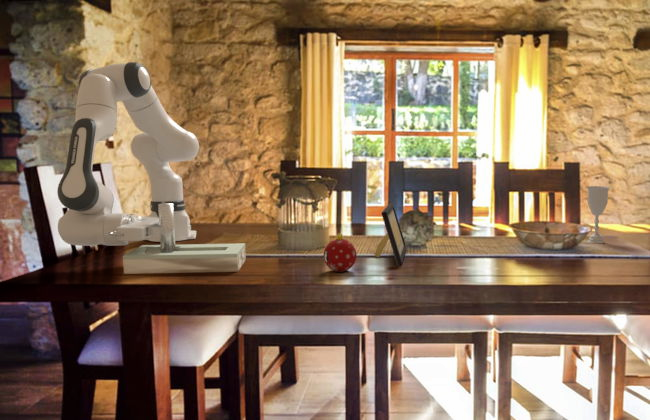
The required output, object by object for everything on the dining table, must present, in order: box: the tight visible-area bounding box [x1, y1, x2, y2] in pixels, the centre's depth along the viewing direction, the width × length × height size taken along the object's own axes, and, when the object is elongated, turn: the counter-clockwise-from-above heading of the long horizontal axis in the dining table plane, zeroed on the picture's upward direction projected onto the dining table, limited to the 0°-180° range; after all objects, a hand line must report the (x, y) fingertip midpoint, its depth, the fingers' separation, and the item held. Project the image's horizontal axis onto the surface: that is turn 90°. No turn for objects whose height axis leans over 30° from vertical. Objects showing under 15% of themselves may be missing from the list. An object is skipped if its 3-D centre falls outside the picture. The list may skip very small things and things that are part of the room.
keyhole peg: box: [158, 203, 176, 253], centre depth 153 cm, size 8×8×16 cm
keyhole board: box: [122, 242, 247, 275], centre depth 154 cm, size 16×30×5 cm, turn 91°
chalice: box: [586, 185, 610, 244], centre depth 180 cm, size 7×7×18 cm
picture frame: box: [374, 202, 407, 266], centre depth 162 cm, size 23×9×15 cm, turn 168°
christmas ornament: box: [323, 233, 358, 273], centre depth 144 cm, size 9×9×10 cm
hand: (170, 228), depth 153 cm, fingers closed on keyhole peg, 4 cm apart
